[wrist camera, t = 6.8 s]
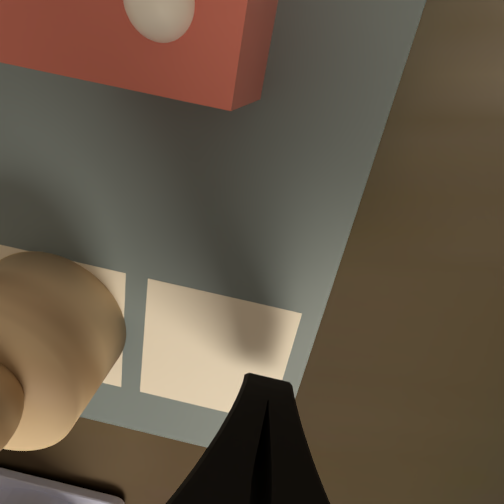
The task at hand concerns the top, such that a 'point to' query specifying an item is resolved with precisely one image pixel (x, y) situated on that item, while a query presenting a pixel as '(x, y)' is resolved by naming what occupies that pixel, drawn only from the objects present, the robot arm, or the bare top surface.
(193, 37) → the die
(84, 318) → the pawn
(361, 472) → the top surface
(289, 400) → the robot arm
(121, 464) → the top surface
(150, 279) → the board
